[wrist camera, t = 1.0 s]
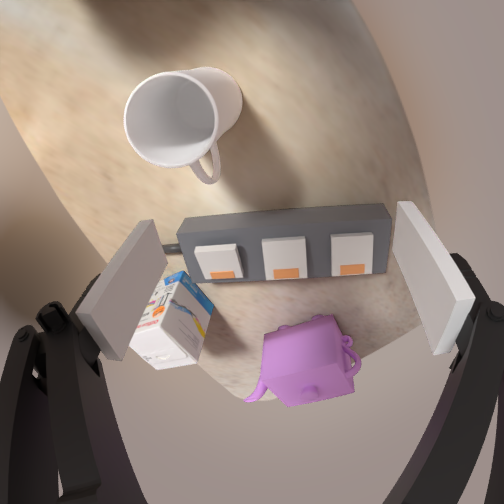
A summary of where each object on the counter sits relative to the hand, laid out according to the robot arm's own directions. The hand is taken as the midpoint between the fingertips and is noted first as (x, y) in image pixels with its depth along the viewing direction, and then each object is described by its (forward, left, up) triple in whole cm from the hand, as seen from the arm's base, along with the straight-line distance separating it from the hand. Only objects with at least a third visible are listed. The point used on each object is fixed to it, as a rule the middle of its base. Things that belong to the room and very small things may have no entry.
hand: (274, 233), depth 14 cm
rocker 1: (+14, -9, -17) cm, 24 cm away
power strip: (+14, -4, -22) cm, 26 cm away
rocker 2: (+14, -1, -17) cm, 22 cm away
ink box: (+24, -19, -22) cm, 38 cm away
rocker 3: (+14, +7, -17) cm, 23 cm away
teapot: (+35, 0, -22) cm, 41 cm away
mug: (-3, -8, -22) cm, 24 cm away
